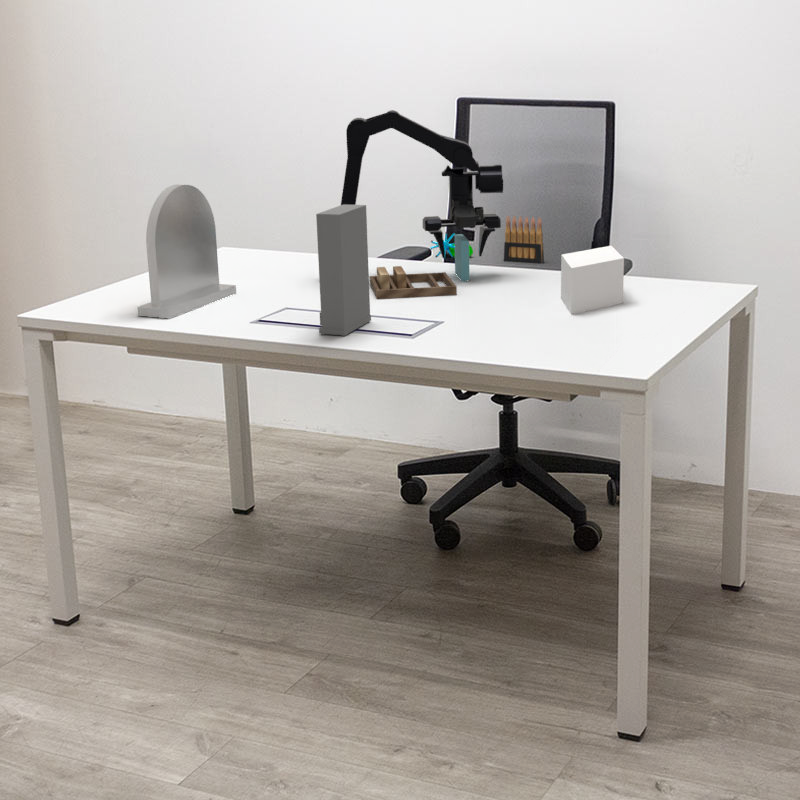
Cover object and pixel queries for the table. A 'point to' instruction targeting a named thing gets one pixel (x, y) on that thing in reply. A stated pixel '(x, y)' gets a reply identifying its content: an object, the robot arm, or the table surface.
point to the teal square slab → (462, 257)
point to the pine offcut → (382, 278)
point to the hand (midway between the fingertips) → (461, 257)
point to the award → (182, 254)
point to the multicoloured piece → (452, 246)
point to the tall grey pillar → (343, 269)
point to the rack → (416, 292)
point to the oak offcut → (399, 277)
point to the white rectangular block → (592, 279)
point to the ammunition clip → (523, 242)
